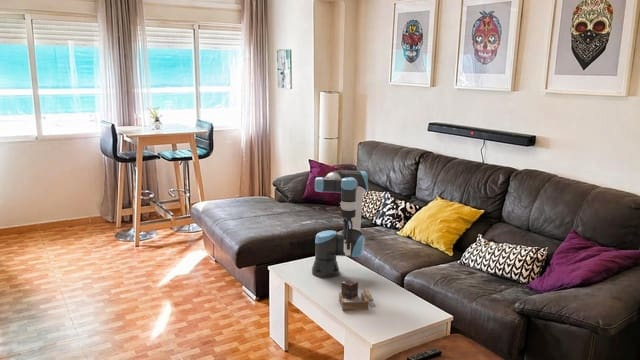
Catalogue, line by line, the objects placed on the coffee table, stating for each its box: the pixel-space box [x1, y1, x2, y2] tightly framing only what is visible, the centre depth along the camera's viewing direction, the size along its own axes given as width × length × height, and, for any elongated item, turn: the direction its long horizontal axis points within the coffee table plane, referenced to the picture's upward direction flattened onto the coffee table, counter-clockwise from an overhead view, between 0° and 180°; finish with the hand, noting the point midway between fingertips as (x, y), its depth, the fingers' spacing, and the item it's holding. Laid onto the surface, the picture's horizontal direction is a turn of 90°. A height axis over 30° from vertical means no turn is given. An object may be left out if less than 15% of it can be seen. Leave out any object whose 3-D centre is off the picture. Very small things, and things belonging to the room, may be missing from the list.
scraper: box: [363, 287, 376, 308], centre depth 252 cm, size 17×2×2 cm, turn 7°
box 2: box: [338, 291, 369, 312], centre depth 246 cm, size 12×12×4 cm
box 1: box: [340, 278, 359, 300], centre depth 255 cm, size 6×6×7 cm
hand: (347, 253), depth 262 cm, fingers open, 4 cm apart
